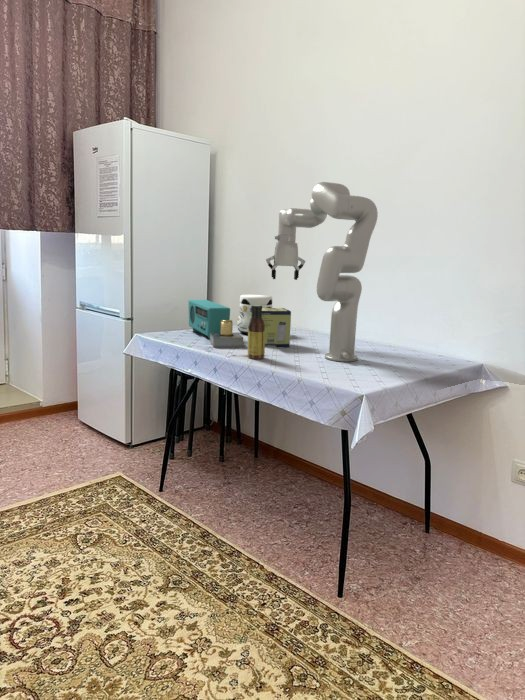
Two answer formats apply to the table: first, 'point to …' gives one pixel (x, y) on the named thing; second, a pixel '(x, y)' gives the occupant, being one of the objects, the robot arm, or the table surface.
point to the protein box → (276, 326)
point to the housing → (226, 340)
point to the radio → (207, 316)
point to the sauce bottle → (256, 334)
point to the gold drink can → (226, 327)
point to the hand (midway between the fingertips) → (284, 279)
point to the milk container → (245, 309)
